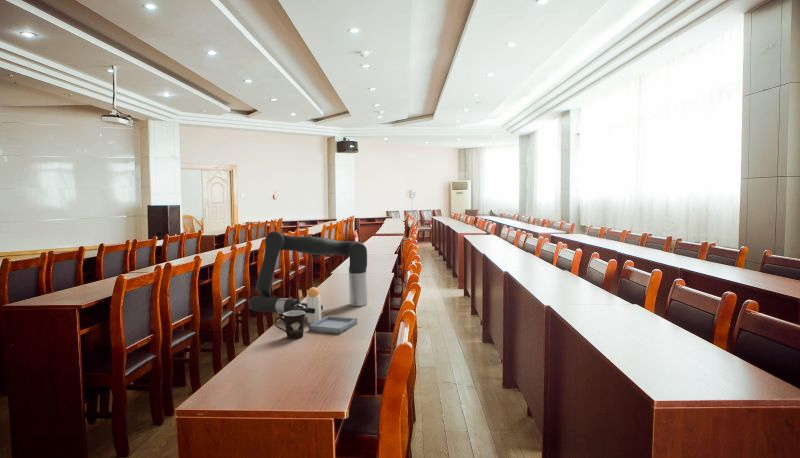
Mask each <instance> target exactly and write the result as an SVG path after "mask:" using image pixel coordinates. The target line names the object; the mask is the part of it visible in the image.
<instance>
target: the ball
mask: <svg viewBox="0 0 800 458" xmlns="http://www.w3.org/2000/svg"><path fill="white" fill-rule="evenodd" d="M308 295H309V297H317V296H318V295H320V291H319V289H318V288H317V287H315V286H314V287H310V288H309V289H308V290H307V296H308Z"/></svg>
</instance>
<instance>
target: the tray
mask: <svg viewBox="0 0 800 458" xmlns="http://www.w3.org/2000/svg"><path fill="white" fill-rule="evenodd" d="M357 325H358V318H357V317H345V316H338V315H337V316H336V315H326V316H324V317H323V318H322V317H321V319H320V320H318V321H316V322H314V323H312V324H311V323H309V325H308V332H314V333H315V332H316V333H323V334H324V333H325V334H333V335H342V334H343V333H344V332H345V333H346V331H348V330H349V329H351V328H354V326H357Z"/></svg>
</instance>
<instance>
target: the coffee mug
mask: <svg viewBox="0 0 800 458" xmlns="http://www.w3.org/2000/svg"><path fill="white" fill-rule="evenodd" d="M305 318H306V314H305V311H301V310H294V311H288V312H285V313H284V314H283V317H277V318H275V319H274V325H275V327H276V328H278V330H281V331H283V332H285V333H286V338H287V339H288V340H300V339H302V338H303V337H304V329H305ZM278 320H282V322H283V323H284V324H285V325H284V326H285V329H284V328H282V327H280V326H279V325H277V321H278Z"/></svg>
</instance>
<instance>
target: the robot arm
mask: <svg viewBox="0 0 800 458" xmlns="http://www.w3.org/2000/svg"><path fill="white" fill-rule="evenodd" d="M264 244H265V245H264V255H263V260H262V263H261V267H260V270H259V272H258V276H257V281H256V284H255V290H256V291H257V292H259V296H258V295H257V296H255V295H254V296H252V297H251V298H250V299H249V300H248V303H247V305H248V307H249V309H250V310H252V311H253V312H262V313H263V312H268V313H272V314H273V313H274V314H281V315H284V313H285V312H288V311H294V310H301V311H305V315H307V313H313V314H314V313H315V309H314V308H307V302H300V300H299V299H298V298H288V297H287V298H286V297H284V298H283V297H272V294H271V293H272V292H271V288H272V285H273V280H274V276H275V271H276V264H277V260H278V258H279V254H280V252H281V251H292V252H297V253H302V254H308V255H313V256H314V255H315V256H333V255H334V256H335V255H337V256H343V257H349V265H348V285H349V286H348V288H349V289H348V291H349V292H348V293H349V305H350V306H351V307H363V306H366V305H368V283H367V282H368V279H367V267H368V250H367V247H366V245H365V244H364V243H362V242H360V241H357V240H356V241H351V240H350V241H346V240H345V241H344V240H336V239H332V238H327V237H320V236H312V235H309V236H308V235H307V236H306V235H305V236H292V235H287V234H283V233H281V232H280V231H276V230H273V231H270V232H268V233H267V234H266V236H265V237H264ZM322 310H324V306H323V304H321V311H322Z"/></svg>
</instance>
